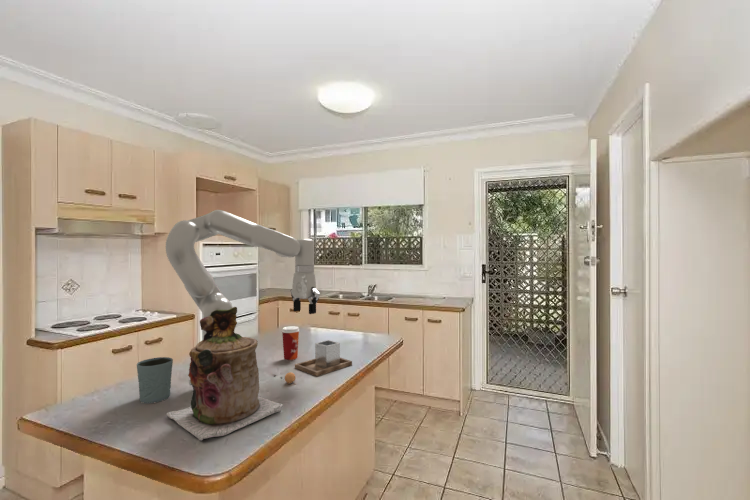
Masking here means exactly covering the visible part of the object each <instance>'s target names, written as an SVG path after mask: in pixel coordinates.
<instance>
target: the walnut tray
mask: <svg viewBox="0 0 750 500" xmlns="http://www.w3.org/2000/svg"><path fill="white" fill-rule="evenodd" d="M352 365H353V360H350V359H346V358H342V357H340V364H338V365H335V366H332V367H329V368H326V369H324V368H321V367H318V366H316V365H315V358H312V359H308V360H305V361H302V362H299V363H298V362H297V363H295V364H294V369H296V370H299V371H301V372H304V373H307V374H309V375H312V376H314V377H319V376H323V375H326V374H329V373H331V372H334V371H337V370H341V369H344V368H347V367H350V366H352Z"/></svg>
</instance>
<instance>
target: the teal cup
mask: <svg viewBox="0 0 750 500" xmlns="http://www.w3.org/2000/svg"><path fill="white" fill-rule="evenodd" d="M173 363H174V359H173V358H172V357H166V356H164V357H163V356H161V357H151V358H148V359H143V360H141V361H139V362H137V364H136V370H137V381H138V392H139V401H141V402H144V403H143V404H154V402H156V403H160V402H162V400H163V401H165V400H167V399H169V398H170V396H171V387H172V384H171V383H172V371H173ZM168 397H169V398H168ZM159 401H160V402H159ZM141 402H140V403H141Z"/></svg>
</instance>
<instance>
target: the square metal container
mask: <svg viewBox="0 0 750 500" xmlns="http://www.w3.org/2000/svg"><path fill="white" fill-rule="evenodd" d="M340 344H341V343H340V342H337V341H334V340H330V339H327V340H324V341H323V340H322V341H319V342H315V343H314V347H315V349H314V350H315V353H314V354H315V358H314V359H315V365H316V366H318V367H321V368H324V369H326V368H329V367H332V366H335V365H338V364H340V358H341V357H340V356H341V354H340V353H341V352H340V351H341V345H340Z"/></svg>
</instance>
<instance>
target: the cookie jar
mask: <svg viewBox="0 0 750 500" xmlns="http://www.w3.org/2000/svg"><path fill="white" fill-rule="evenodd" d="M232 307H233V308H231V309H229V310H215V311H213V312H211V315H210V316H208V317H205V318H204V317H203V318H201V319H200V320H199V326H200V330H201V331H203V330H204V331H206V334H205V335H204V340H203V339H202V340H201V341H199V342H198V343H197V344H196V345H195V346H194V347H192V348H191V349H190V352H189V354H188V355H189V357H190V363H189V369H188V371H189V372H188V375H187V376H188V377H189V380H190V383H191V384H192V385H191V386H192V394H191V398H190V406H189V407H186V408H181V409H179V410H173V411H168V412H167V413H166V416H167V417H168V418H169V419H171V420H173V421H175V422H176V423H177V425H179V426H180V427H182V428H183V429H185V430H186V431H187V432H189V433H190V434H192V435H193V436H195V438H197V439H198V440H199V441H203V440H204V439H208V438H209V439H210V438H214V437H223V436H227V435H228V434H230V433H232V432H234V431H236V430H239V429H241V428H244V427H246V426H249V425H250V424H252V423H255V422H257V421H260V420H262V419H263V418H266V417H268V416H270V415H273V414H275V413H279V412H281V411H282V410H281V409H282V407H283V405H284V404H282V403H279V402H277V401H272V400H270V399H267V398H263V397H261V396H259V393H260V389H261V388H260V377H259V375H260V373H259V366H258V361H257V360H258V359H257V352H256V350H257V347H258V343H259V342H258V341H259V340H257V339H256V338H253V337H249V336H248V337H247V336H242V335H241V334H239V333H236V332H235V330H236V328H237V324H238V321H237V317H238V316H237V313H238V307H237V306H232Z"/></svg>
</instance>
